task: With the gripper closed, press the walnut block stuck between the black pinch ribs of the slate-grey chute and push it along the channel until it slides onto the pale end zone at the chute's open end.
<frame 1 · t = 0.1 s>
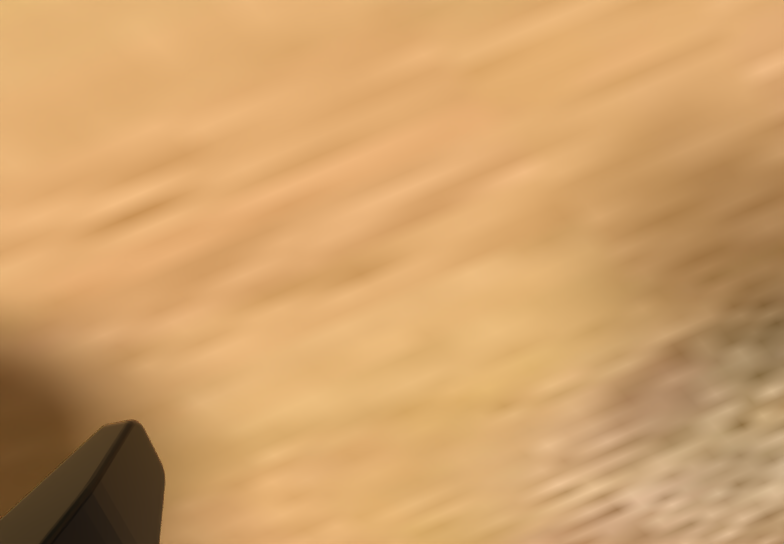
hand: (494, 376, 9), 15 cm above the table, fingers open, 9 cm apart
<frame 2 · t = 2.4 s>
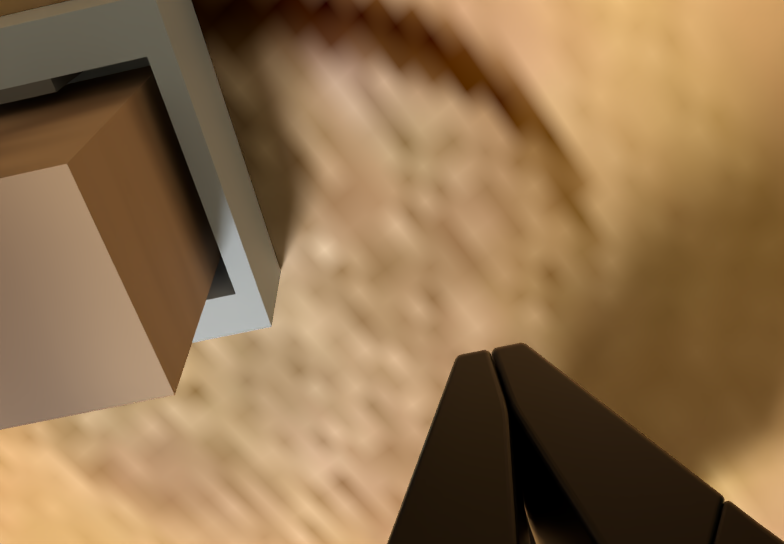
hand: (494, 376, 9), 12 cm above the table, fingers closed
walnut block: (41, 236, 16), point 4 cm above the table, slide at 0.0 cm
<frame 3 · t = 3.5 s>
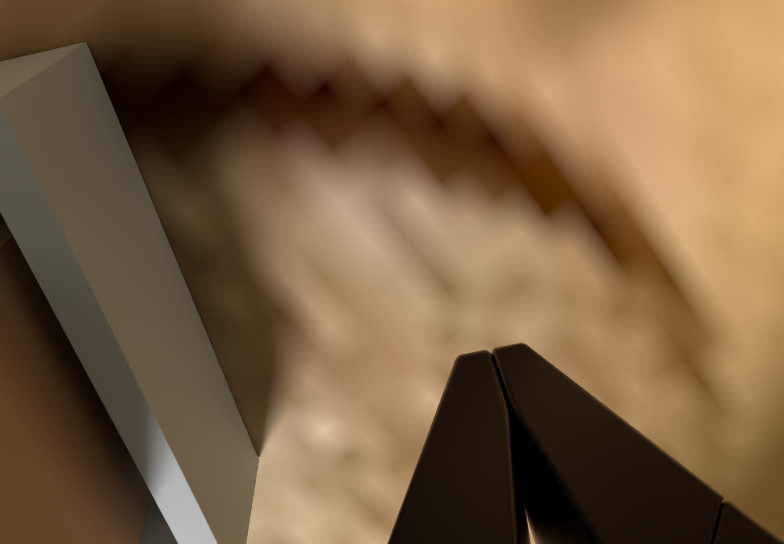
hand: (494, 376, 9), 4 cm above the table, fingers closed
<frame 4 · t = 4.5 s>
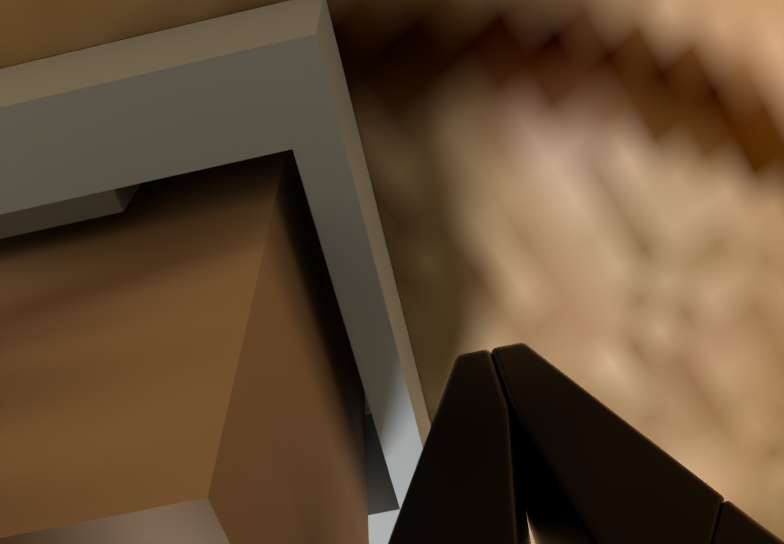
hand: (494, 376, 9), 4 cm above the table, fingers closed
walnut block: (95, 464, 9), point 4 cm above the table, slide at 0.0 cm, touching gripper
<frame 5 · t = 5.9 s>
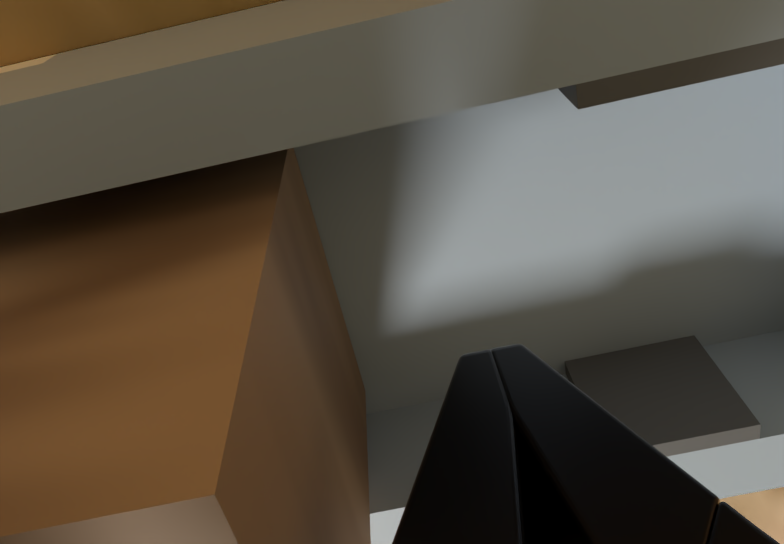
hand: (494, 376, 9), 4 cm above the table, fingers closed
chute: (327, 259, 12), on the table
walnut block: (97, 463, 9), point 4 cm above the table, slide at 7.9 cm, touching gripper
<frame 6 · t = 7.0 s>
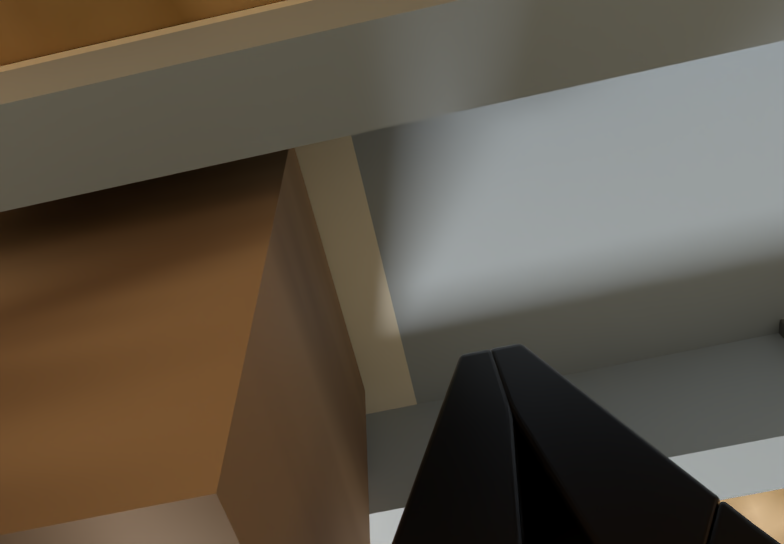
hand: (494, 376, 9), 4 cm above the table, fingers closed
chute: (550, 212, 12), on the table
walnut block: (96, 462, 9), point 4 cm above the table, slide at 11.9 cm, touching gripper
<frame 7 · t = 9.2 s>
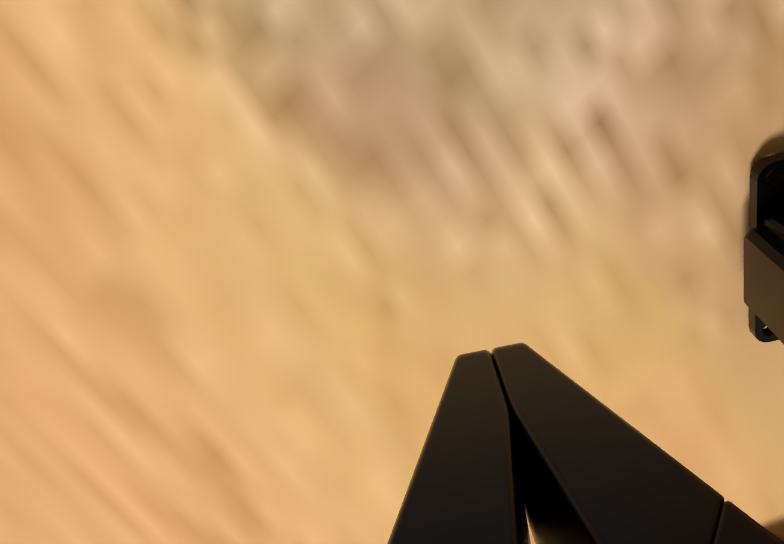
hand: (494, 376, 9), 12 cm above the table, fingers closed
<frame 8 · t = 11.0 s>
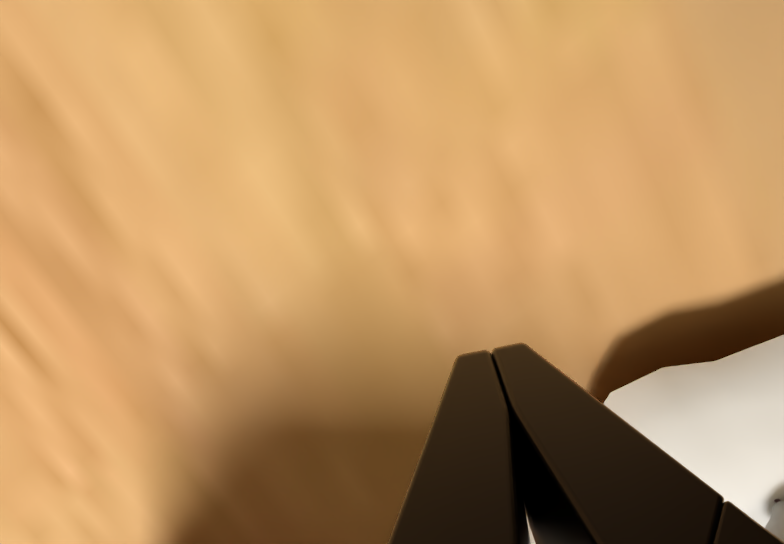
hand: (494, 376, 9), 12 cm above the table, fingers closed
figurine: (717, 505, 29), on the table
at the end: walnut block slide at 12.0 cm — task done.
